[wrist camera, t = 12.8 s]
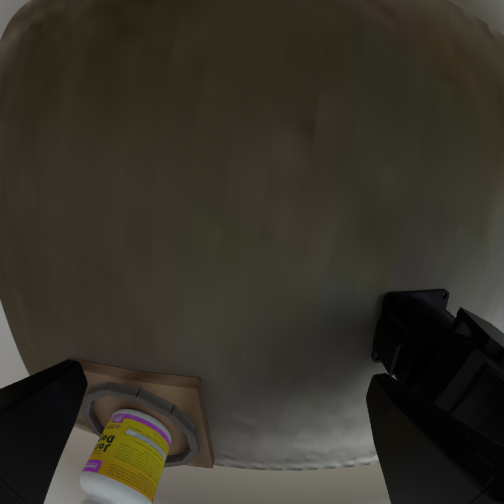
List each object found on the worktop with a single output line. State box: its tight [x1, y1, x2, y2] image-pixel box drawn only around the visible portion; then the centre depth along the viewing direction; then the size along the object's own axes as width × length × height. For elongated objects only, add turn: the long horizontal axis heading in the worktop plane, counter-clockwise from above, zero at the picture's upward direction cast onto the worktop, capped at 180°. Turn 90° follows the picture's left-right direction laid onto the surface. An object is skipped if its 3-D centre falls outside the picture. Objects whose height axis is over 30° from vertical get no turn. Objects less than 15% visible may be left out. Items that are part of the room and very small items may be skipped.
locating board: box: [71, 358, 214, 468], centre depth 24 cm, size 14×14×3 cm
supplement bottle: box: [80, 409, 171, 504], centre depth 17 cm, size 7×7×13 cm
